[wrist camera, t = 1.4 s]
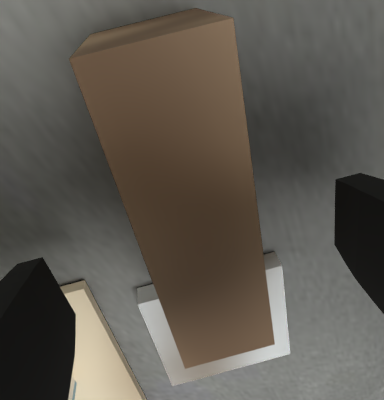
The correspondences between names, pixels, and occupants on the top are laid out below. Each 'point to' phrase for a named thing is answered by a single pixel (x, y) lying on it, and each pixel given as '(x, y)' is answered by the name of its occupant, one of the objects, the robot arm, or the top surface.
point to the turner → (187, 188)
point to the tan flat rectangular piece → (98, 352)
